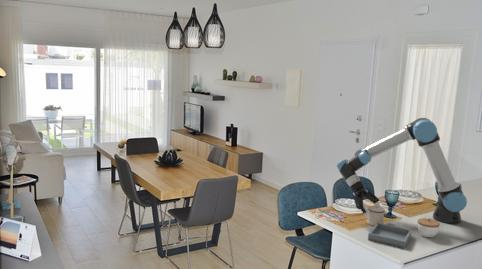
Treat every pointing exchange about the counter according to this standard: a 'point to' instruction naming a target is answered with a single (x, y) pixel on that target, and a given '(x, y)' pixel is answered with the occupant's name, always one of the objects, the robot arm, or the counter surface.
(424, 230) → the lidded jar
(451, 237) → the counter surface
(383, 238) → the tray
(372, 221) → the teacup with lid
